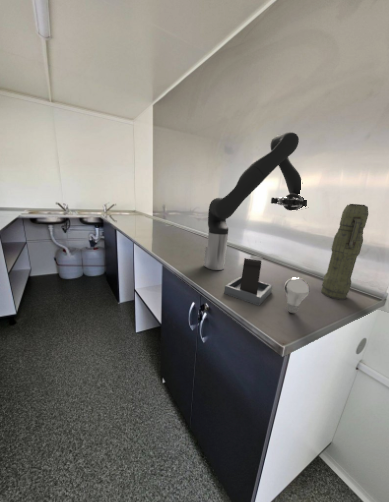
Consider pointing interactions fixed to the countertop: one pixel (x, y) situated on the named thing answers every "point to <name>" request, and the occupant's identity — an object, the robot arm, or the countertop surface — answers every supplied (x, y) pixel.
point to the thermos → (345, 251)
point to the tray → (235, 291)
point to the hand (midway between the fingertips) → (285, 201)
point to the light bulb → (295, 293)
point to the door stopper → (250, 275)
